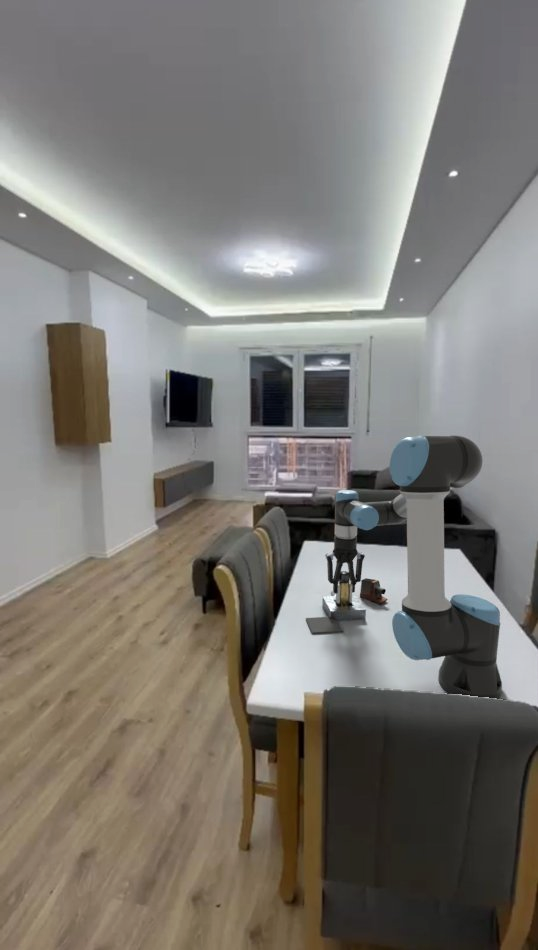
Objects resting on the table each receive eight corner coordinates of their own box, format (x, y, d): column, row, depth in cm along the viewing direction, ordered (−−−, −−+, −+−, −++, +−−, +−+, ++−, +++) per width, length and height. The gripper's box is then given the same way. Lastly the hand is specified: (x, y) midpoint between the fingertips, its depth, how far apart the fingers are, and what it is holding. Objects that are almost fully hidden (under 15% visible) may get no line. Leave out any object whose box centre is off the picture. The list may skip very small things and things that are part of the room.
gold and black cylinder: (349, 613, 163) (351, 574, 161) (339, 614, 163) (340, 575, 161) (346, 608, 167) (347, 570, 165) (336, 609, 166) (337, 571, 164)
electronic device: (381, 605, 170) (381, 585, 169) (359, 597, 177) (359, 578, 176) (387, 602, 173) (388, 582, 172) (365, 594, 180) (366, 575, 179)
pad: (342, 632, 151) (343, 630, 150) (312, 634, 149) (312, 632, 149) (334, 618, 160) (335, 616, 160) (305, 619, 159) (305, 617, 159)
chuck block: (365, 619, 160) (365, 609, 159) (330, 621, 158) (330, 611, 158) (348, 595, 179) (348, 586, 179) (317, 596, 178) (317, 587, 177)
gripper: (365, 532, 165) (363, 595, 169) (318, 533, 163) (317, 598, 167) (373, 538, 158) (370, 604, 162) (324, 540, 156) (322, 607, 159)
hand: (343, 601), depth 164 cm, fingers closed on gold and black cylinder, 4 cm apart
